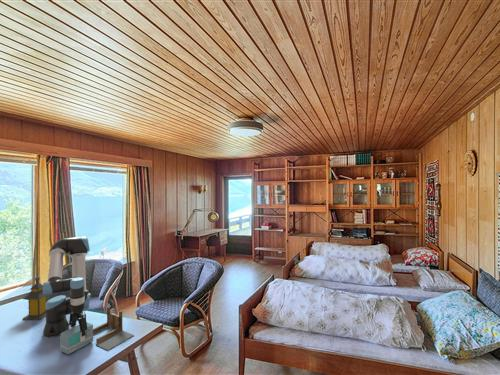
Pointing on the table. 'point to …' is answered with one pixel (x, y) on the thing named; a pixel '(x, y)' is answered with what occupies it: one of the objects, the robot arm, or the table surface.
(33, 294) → the lantern
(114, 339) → the rubber mat
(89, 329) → the radio
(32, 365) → the table surface
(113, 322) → the shelf cradle
